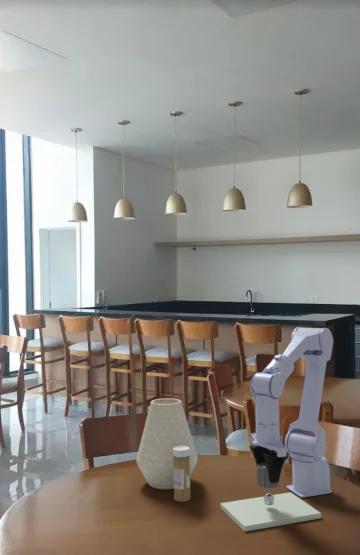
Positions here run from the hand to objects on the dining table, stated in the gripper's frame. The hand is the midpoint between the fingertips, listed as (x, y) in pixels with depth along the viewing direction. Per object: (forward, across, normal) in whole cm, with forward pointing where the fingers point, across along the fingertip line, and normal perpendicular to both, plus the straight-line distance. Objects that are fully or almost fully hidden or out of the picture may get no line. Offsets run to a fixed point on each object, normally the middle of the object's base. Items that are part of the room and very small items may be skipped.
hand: (268, 478), depth 132 cm
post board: (+8, 0, 0) cm, 8 cm away
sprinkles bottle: (+9, -16, -17) cm, 25 cm away
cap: (+1, 0, 0) cm, 1 cm away
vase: (+9, -29, -17) cm, 35 cm away
